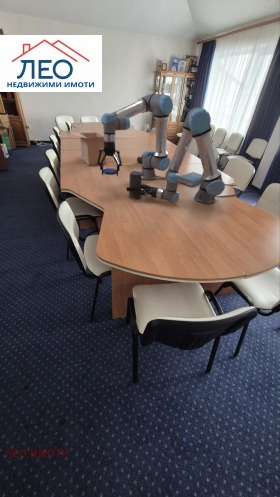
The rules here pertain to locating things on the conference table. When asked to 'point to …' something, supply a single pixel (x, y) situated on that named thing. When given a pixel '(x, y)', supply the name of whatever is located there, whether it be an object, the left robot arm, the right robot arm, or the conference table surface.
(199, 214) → the conference table surface
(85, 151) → the box
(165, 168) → the left robot arm
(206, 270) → the conference table surface
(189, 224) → the conference table surface
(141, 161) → the laser sight
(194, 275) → the conference table surface
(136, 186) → the jar
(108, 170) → the lid
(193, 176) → the book
